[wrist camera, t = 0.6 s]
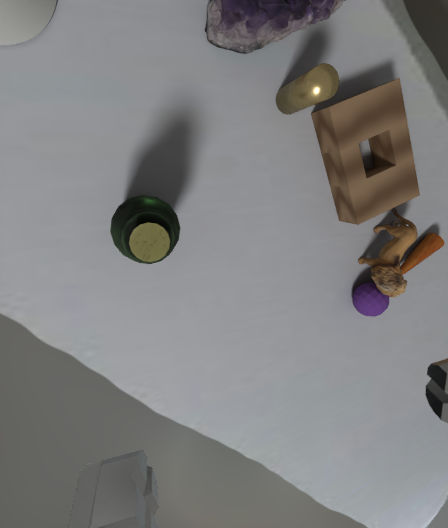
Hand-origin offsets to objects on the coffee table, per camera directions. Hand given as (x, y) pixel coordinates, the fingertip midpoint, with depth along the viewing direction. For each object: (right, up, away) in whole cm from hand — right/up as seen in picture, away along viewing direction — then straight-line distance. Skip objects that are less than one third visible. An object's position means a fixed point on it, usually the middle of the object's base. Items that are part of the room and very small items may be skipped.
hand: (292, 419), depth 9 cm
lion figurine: (+26, +7, +51) cm, 58 cm away
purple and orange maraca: (+29, +3, +54) cm, 61 cm away
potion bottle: (-14, +11, +40) cm, 43 cm away
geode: (+4, +40, +37) cm, 55 cm away
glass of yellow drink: (+8, +29, +41) cm, 51 cm away
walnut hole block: (+20, +22, +46) cm, 55 cm away
